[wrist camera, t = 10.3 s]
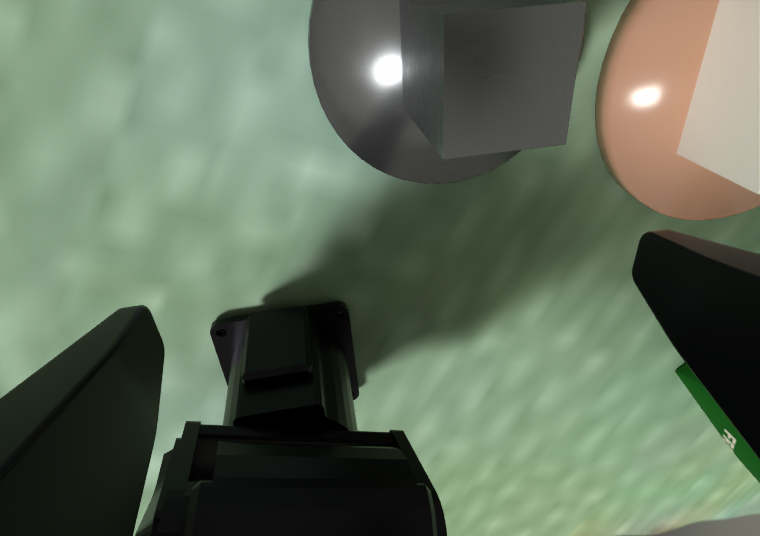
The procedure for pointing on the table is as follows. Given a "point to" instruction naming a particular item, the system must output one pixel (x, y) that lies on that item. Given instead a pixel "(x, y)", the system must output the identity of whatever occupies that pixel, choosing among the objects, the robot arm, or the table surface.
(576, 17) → the grey rounded piece
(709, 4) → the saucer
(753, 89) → the cream colored cube
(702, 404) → the milk carton
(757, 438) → the robot arm
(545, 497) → the table surface
